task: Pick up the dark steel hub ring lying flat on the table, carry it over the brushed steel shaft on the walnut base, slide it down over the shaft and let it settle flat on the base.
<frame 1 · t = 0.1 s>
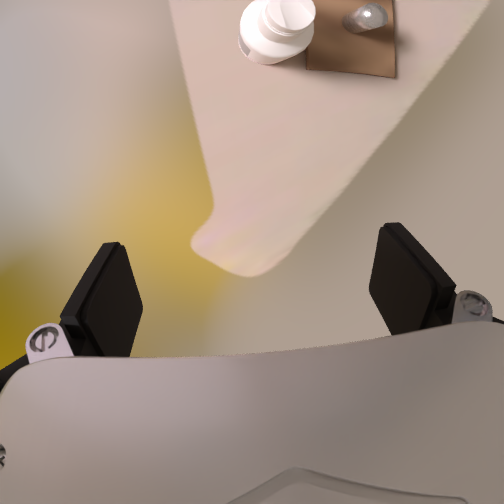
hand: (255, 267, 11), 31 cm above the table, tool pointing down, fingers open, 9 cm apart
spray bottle: (265, 40, 32), on the table
steel shaft: (363, 19, 26), on the walnut base, point 5 cm above the table
walnut base: (348, 24, 30), on the table
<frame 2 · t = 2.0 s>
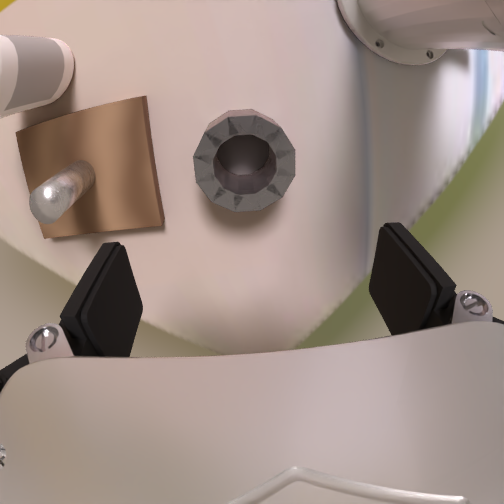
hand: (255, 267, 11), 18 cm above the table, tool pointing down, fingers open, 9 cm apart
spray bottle: (48, 71, 20), on the table
steel shaft: (64, 188, 22), on the walnut base, point 5 cm above the table
walnut base: (88, 170, 26), on the table
steel hub: (242, 150, 26), on the table
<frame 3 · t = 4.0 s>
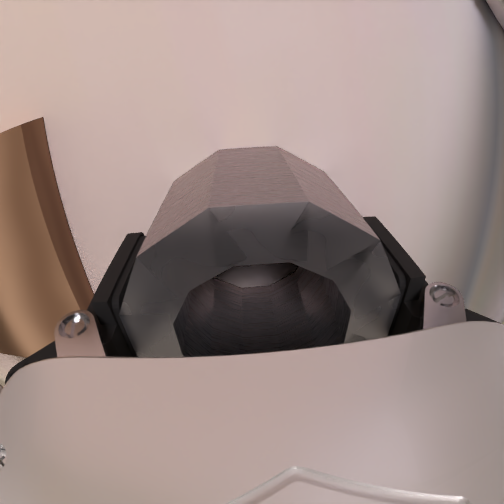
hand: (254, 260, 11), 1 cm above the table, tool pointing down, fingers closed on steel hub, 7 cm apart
steel hub: (253, 240, 12), on the table, touching gripper
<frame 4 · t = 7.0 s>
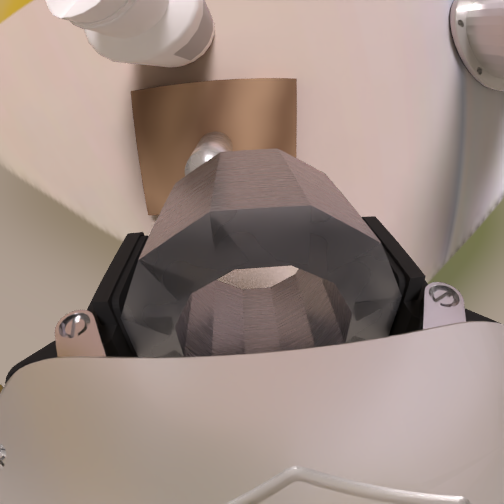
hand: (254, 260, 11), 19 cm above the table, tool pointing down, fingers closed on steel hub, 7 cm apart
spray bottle: (176, 32, 21), on the table
steel shaft: (211, 158, 22), on the walnut base, point 5 cm above the table
walnut base: (216, 144, 27), on the table
steel hub: (254, 242, 12), point 17 cm above the table, touching gripper
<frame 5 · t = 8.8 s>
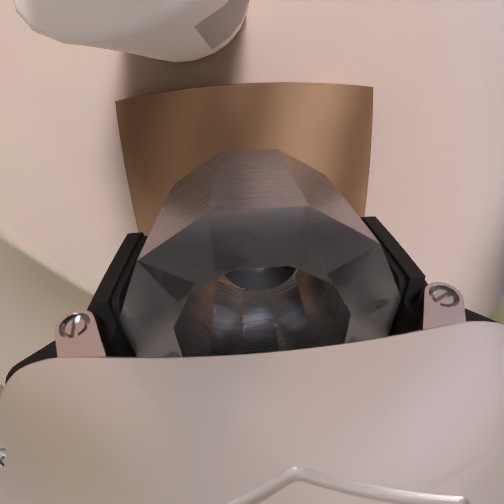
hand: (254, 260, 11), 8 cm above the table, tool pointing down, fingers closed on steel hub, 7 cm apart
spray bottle: (186, 9, 13), on the table
steel shaft: (254, 216, 14), on the walnut base, point 5 cm above the table
walnut base: (249, 181, 18), on the table
steel hub: (253, 243, 12), point 7 cm above the table, touching gripper
when the fingers open (5 cm above the table, at t = 10.0 s): steel hub drops 3 cm, resting on walnut base.
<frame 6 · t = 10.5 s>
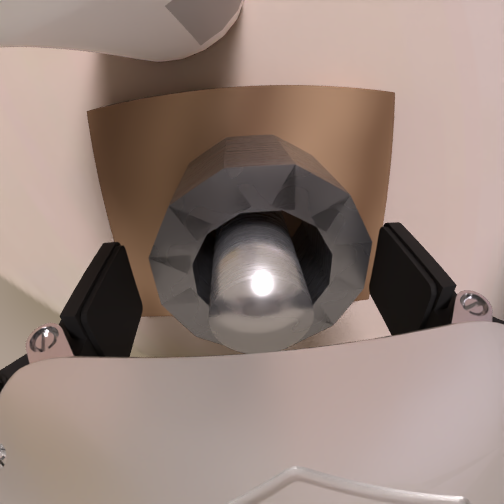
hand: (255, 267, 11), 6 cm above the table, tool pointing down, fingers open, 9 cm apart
steel shaft: (253, 255, 12), on the walnut base, point 5 cm above the table
walnut base: (247, 203, 16), on the table
steel hub: (254, 213, 15), point 1 cm above the table, touching walnut base
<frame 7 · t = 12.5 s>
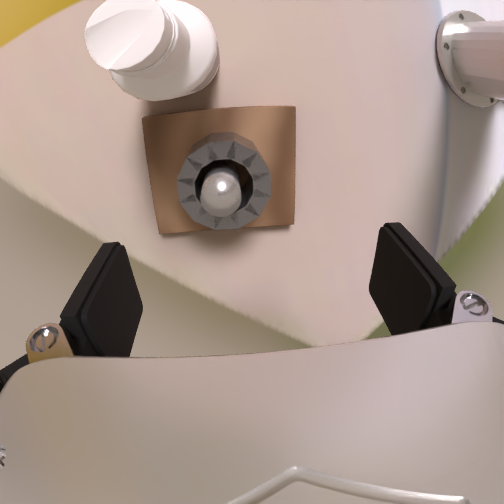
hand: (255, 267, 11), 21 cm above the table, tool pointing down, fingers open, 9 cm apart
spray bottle: (183, 61, 24), on the table
steel shaft: (221, 183, 25), on the walnut base, point 5 cm above the table
walnut base: (221, 167, 30), on the table
steel hub: (224, 170, 28), point 1 cm above the table, touching walnut base
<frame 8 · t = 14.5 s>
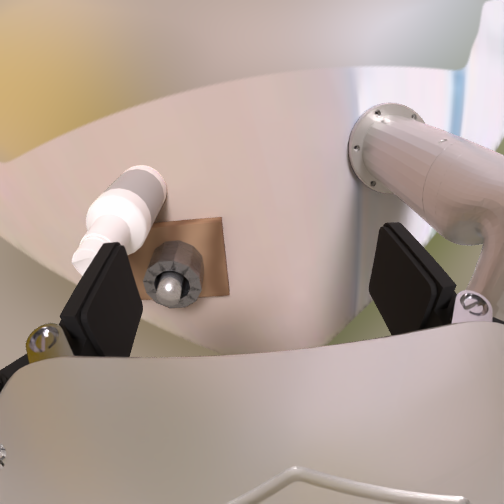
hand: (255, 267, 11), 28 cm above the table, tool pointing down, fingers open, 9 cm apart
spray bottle: (142, 188, 38), on the table
steel shaft: (172, 279, 39), on the walnut base, point 5 cm above the table
walnut base: (177, 259, 44), on the table
steel hub: (177, 263, 42), point 1 cm above the table, touching walnut base
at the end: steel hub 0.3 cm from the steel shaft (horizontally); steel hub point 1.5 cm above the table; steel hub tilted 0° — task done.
